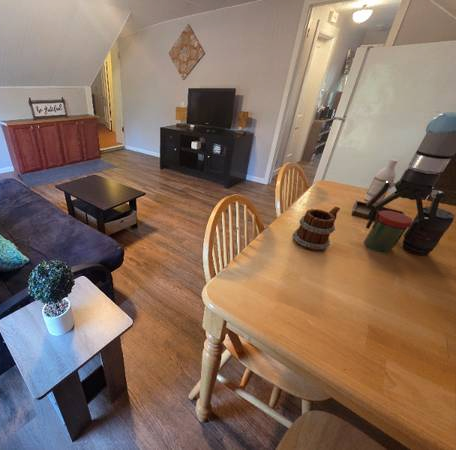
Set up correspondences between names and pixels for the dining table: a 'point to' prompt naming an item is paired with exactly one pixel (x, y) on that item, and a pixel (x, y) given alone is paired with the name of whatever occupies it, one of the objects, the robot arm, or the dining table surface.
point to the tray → (367, 210)
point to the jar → (383, 237)
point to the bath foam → (382, 180)
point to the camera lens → (428, 233)
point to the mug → (315, 229)
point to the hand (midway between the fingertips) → (385, 231)
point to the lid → (394, 219)
